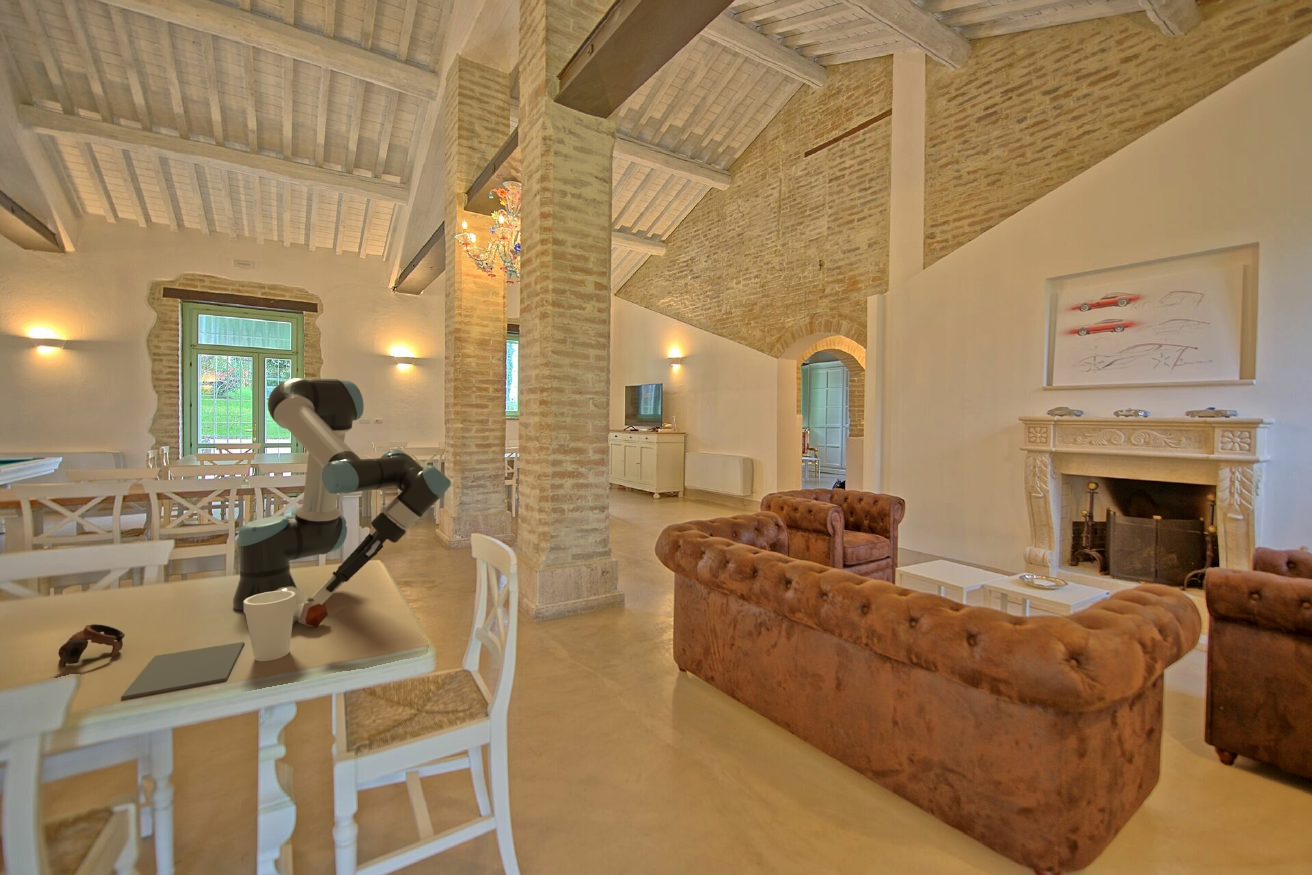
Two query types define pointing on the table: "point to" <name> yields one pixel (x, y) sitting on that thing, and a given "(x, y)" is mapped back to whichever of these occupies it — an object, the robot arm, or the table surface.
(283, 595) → the foam cup
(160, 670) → the mat
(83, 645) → the brown curved ring piece
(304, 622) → the potion bottle
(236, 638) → the table surface
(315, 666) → the table surface
